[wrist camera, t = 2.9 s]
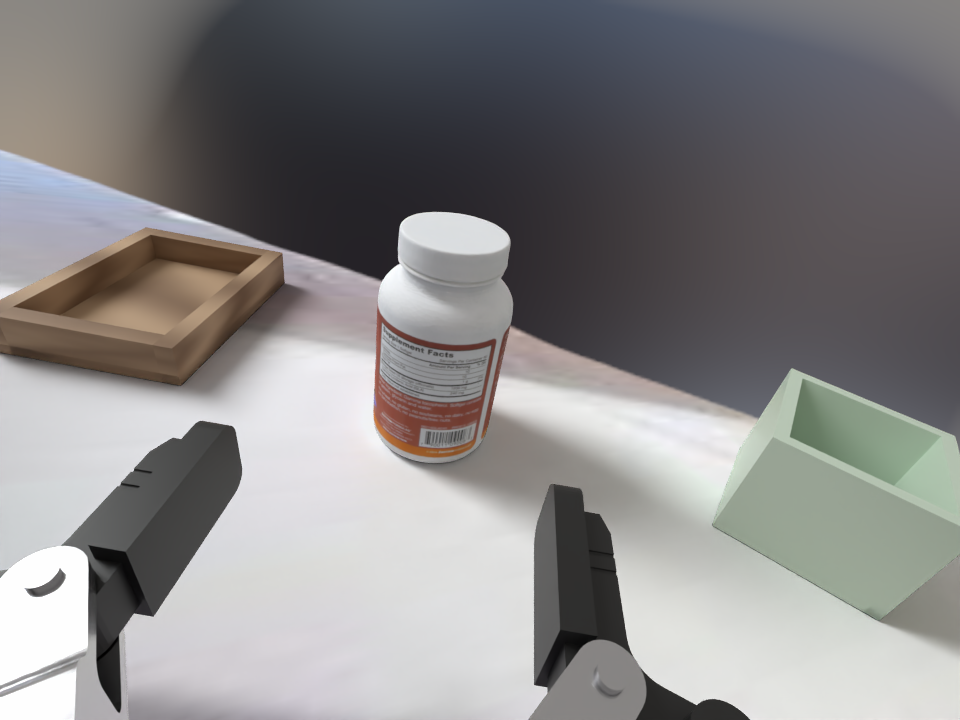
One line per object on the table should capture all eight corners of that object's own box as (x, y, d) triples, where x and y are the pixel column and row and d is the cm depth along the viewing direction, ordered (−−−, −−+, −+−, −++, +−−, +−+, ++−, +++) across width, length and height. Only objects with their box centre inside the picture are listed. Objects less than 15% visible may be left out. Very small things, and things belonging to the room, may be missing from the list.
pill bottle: (422, 376, 30) (443, 196, 24) (506, 424, 28) (554, 238, 21) (347, 427, 25) (348, 221, 19) (439, 489, 23) (475, 277, 17)
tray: (181, 385, 26) (171, 348, 25) (-6, 351, 26) (-25, 312, 24) (284, 282, 37) (282, 252, 35) (153, 258, 37) (145, 227, 35)
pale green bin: (878, 620, 21) (981, 536, 18) (712, 525, 24) (772, 437, 20) (876, 516, 26) (954, 436, 23) (739, 448, 29) (791, 368, 26)
